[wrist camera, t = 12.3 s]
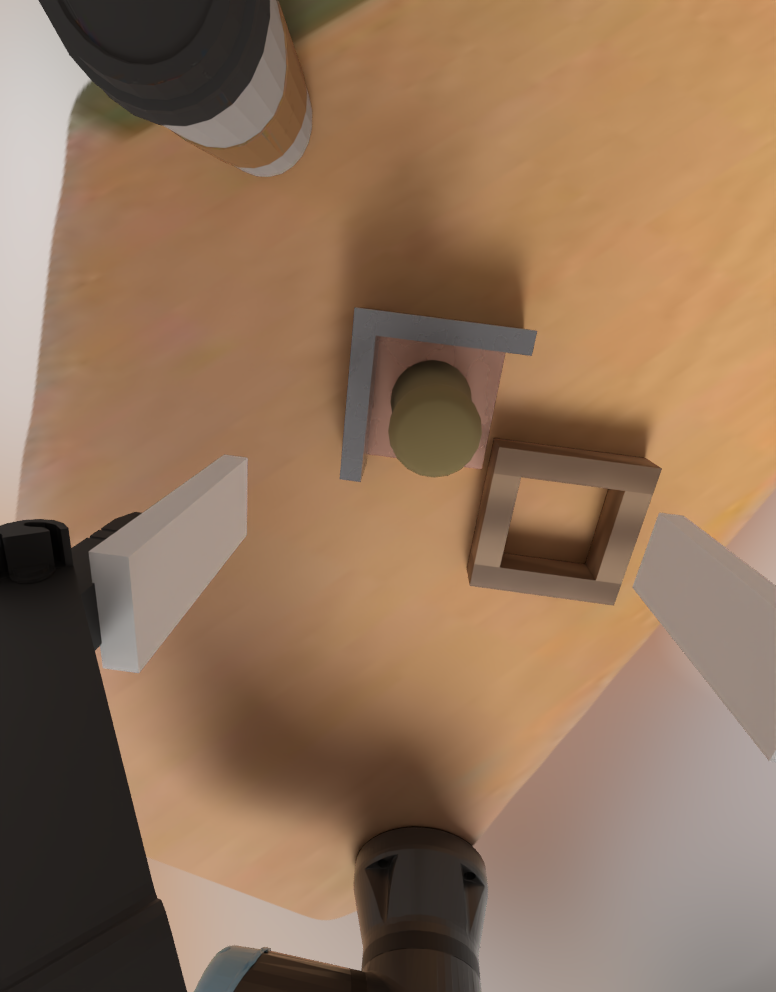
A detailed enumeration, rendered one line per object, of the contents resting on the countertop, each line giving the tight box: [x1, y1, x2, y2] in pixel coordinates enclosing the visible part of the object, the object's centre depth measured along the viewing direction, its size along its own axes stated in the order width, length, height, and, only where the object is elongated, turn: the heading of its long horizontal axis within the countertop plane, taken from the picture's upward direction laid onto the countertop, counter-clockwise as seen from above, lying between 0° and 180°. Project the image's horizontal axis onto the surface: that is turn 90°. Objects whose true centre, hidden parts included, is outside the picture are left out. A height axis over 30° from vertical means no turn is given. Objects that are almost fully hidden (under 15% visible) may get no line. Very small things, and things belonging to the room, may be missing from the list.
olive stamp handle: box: [388, 360, 482, 477], centre depth 30 cm, size 6×6×11 cm
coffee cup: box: [39, 0, 312, 177], centre depth 23 cm, size 8×8×15 cm
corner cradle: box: [340, 308, 537, 482], centre depth 34 cm, size 12×12×4 cm
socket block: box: [467, 438, 662, 605], centre depth 37 cm, size 12×12×3 cm
